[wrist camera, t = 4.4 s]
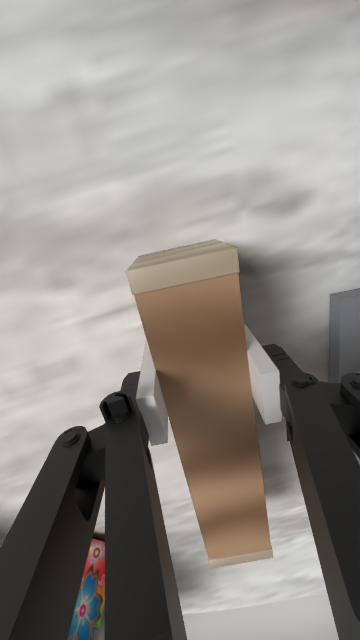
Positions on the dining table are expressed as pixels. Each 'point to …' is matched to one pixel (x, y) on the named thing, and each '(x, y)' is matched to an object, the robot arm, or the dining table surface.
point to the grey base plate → (344, 335)
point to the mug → (91, 598)
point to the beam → (207, 390)
